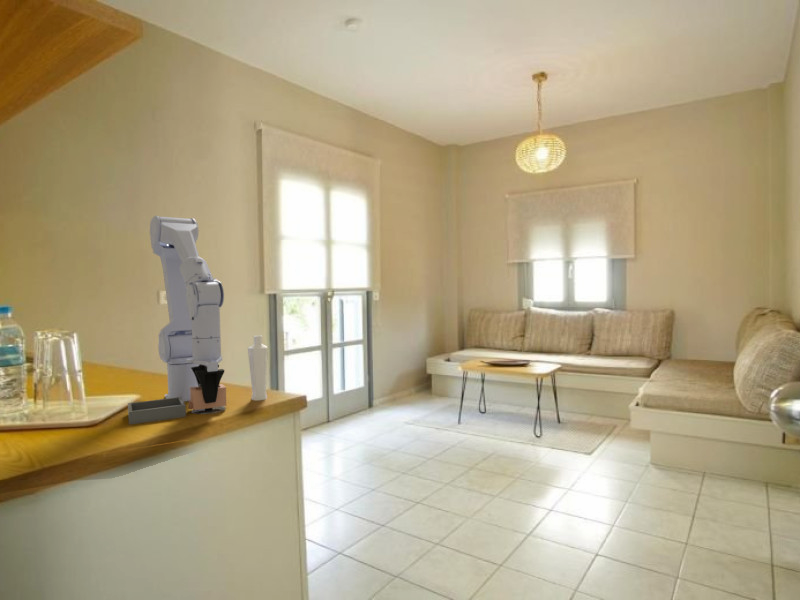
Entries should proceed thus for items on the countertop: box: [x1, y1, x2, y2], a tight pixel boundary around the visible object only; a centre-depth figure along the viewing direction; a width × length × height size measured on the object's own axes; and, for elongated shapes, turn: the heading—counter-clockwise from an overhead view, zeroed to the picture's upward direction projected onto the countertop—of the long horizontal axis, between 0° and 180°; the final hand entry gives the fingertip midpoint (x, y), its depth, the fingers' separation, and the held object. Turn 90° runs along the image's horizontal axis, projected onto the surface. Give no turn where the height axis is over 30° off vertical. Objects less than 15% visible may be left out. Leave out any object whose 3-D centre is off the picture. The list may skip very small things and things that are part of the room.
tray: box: [127, 397, 187, 425], centre depth 102 cm, size 9×10×3 cm
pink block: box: [187, 383, 227, 410], centre depth 106 cm, size 7×4×4 cm, turn 120°
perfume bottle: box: [247, 335, 269, 402], centre depth 116 cm, size 5×4×15 cm
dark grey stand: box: [190, 383, 227, 415], centre depth 106 cm, size 7×7×6 cm
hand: (208, 400), depth 106 cm, fingers closed on pink block, 4 cm apart
